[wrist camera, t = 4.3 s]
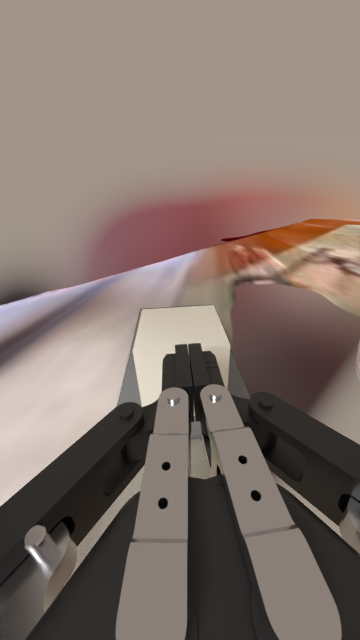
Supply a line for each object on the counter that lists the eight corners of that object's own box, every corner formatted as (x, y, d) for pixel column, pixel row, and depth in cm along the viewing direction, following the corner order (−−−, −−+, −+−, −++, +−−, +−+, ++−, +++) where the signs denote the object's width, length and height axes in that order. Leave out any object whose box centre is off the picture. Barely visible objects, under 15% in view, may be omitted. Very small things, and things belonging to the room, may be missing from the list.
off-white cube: (225, 413, 23) (230, 345, 19) (144, 419, 23) (132, 351, 19) (212, 362, 30) (213, 305, 26) (149, 367, 30) (142, 309, 26)
